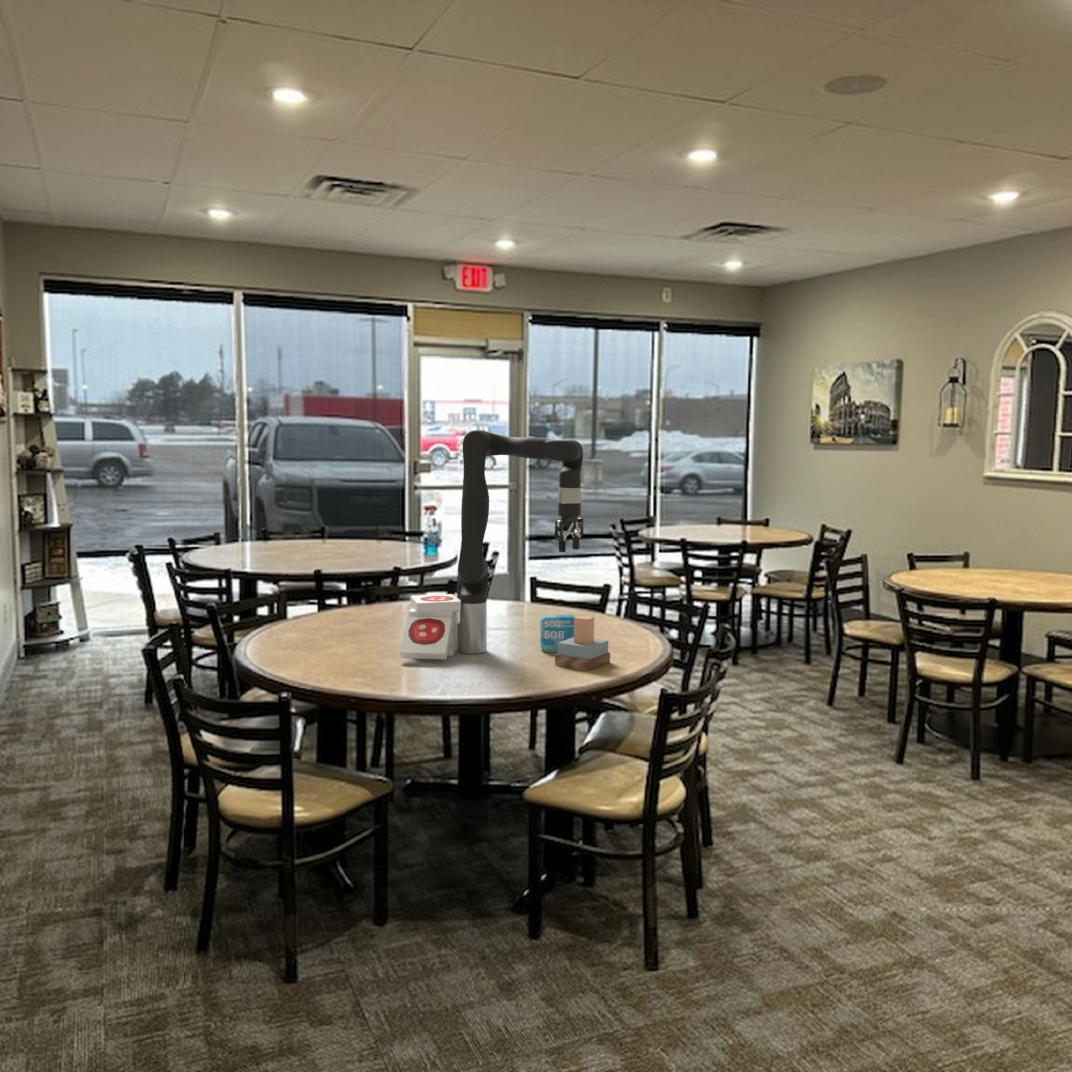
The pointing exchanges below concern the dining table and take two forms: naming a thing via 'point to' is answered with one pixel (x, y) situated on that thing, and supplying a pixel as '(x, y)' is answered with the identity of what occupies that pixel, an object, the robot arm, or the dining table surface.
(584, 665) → the tower base
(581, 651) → the tower top
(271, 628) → the dining table surface
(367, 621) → the dining table surface
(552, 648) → the data package
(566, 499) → the robot arm
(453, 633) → the pizza boxes
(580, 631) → the terracotta block
